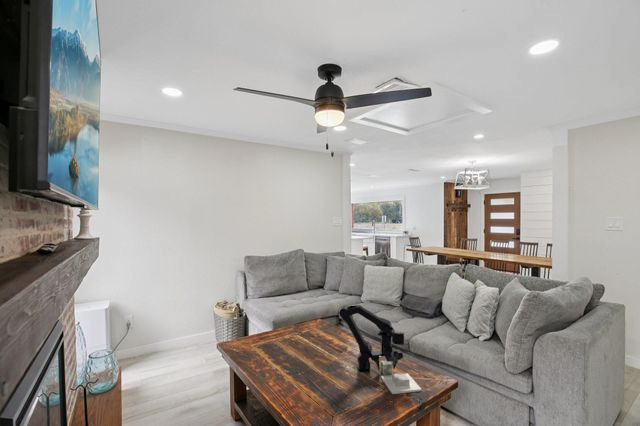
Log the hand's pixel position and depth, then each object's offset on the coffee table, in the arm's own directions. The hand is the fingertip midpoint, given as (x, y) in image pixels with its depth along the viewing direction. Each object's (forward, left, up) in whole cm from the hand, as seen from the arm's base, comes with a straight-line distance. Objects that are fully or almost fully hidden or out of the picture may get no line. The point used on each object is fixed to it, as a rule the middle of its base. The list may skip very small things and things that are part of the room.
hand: (386, 369), depth 184 cm
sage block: (0, 0, -2) cm, 2 cm away
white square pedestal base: (+3, -13, -2) cm, 13 cm away
